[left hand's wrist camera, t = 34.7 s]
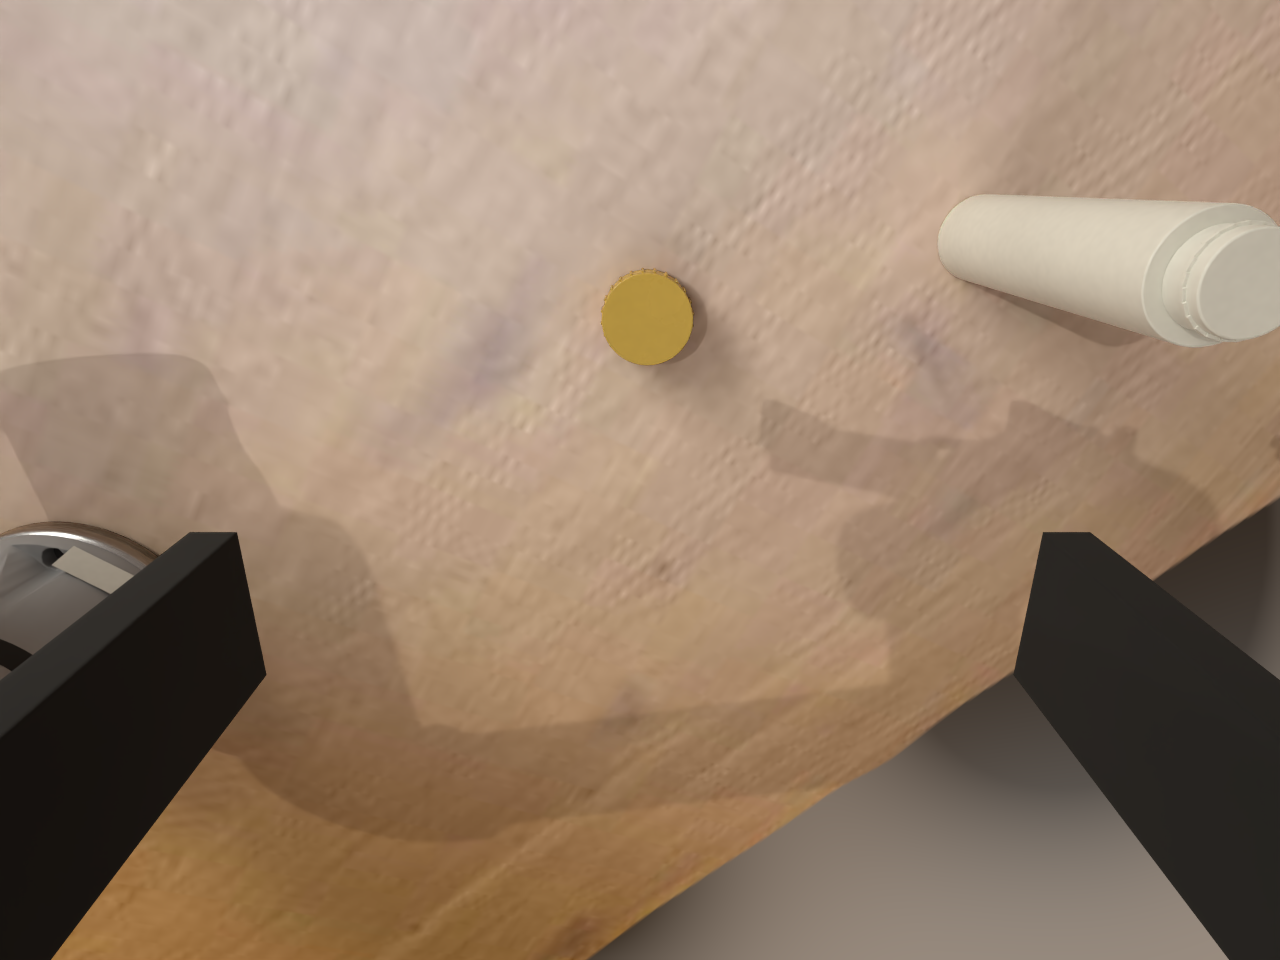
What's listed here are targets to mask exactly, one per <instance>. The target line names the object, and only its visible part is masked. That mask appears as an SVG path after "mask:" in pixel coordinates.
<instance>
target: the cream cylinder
mask: <svg viewBox="0 0 1280 960" xmlns="http://www.w3.org/2000/svg"><path fill="white" fill-rule="evenodd" d="M938 253H939V257H940V260H941V262H942V264H943V265H944V267H945V268H946V269H947V270H948V272H950V273H951V274H952V275H954V276H955V277H957V278H959V279H962V280H965V281H968V282H972V283H975V284H978V285H982V286H985V287H988V288H991V289H995V290H998V291H1001V292H1005V293H1008V294H1011V295H1014V296H1018V297H1021V298H1024V299H1027V300H1031V301H1034V302H1037V303H1041V304H1044V305H1047V306H1050V307H1054V308H1057V309H1060V310H1064V311H1067V312H1070V313H1073V314H1077V315H1080V316H1083V317H1086V318H1090V319H1093V320H1096V321H1100V322H1103V323H1106V324H1109V325H1113V326H1116V327H1119V328H1123V329H1126V330H1129V331H1132V332H1136V333H1139V334H1142V335H1145V336H1149V337H1152V338H1155V339H1159V340H1162V341H1165V342H1168V343H1172V344H1175V345H1179V346H1183V347H1192V348H1195V347H1206V346H1212V345H1215V344H1219V343H1222V342H1239V341H1243V340H1248V339H1253V338H1256V337H1260V336H1262V335H1265V334H1267V333H1269V332H1271V331H1273V330H1274V329H1276V328H1277V327H1279V326H1280V227H1279V226H1277V224H1276V223H1275V221H1274V220H1273V219H1272V218H1271V217H1269V216H1268V215H1267V214H1266V213H1264V212H1263V211H1261V210H1260V209H1257V208H1255V207H1253V206H1249V205H1246V204H1239V203H1220V202H1192V201H1165V200H1138V199H1110V198H1083V197H1056V196H1028V195H1001V194H980V195H975V196H972V197H970V198H967V199H965V200H964V201H962V202H960V203H959V204H958V205H956V206H955V207H954V208H953V209H952V210H951V211H950V213H949V214H948V215H947V217H946V218H945V220H944V222H943V224H942V226H941V228H940V231H939V235H938Z"/></svg>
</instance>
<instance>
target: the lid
mask: <svg viewBox="0 0 1280 960" xmlns="http://www.w3.org/2000/svg"><path fill="white" fill-rule="evenodd" d="M604 301H605V304H604V307H602V310H601V313H602V321H601V325H602V327H603V332H604V336H605V337H606V340H607V342H608V343H609V346H610V347H611V348H612V349H613V350H614V351H615V352H616V353H617V354H618V355H619V356H621V357H622V358H623V359H625V360H627V361H629V362H632V363H634V364H639V365H656V364H660V363H663V362H665V361H668V360H670V359H671V358H673V357H674V356H675V355H677V354H678V353H679V352H680V351H681V350H682V349H683V348H684V346H685V345H686V343H687V341H688V339H689V338H690V334H691V331H692V327H693V326H694V325H693V315H694V312H693V310H692V307H691V303H692V302H691V300H690V297H689V298H688V297H687V294H686V290H685V288H684V287H683V288H682V286H681V285H680V284H679V283H678V280H677V279H676V278H675V279H674V278H672V277H671V276H669V275H668V274H667V272H665V273H663V272H660V271H656V269H653V270H649V269H648V270H644V268H642V270H638V271H634V272H632V271H630V273H629V274H627V275H625V276H624V277H620V278H619V280H618V281H617V282H616V283H615V284H614V286H613V285H612V286H611V288H610V291H609V293H608V295H606V296H605V299H604Z"/></svg>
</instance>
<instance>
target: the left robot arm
mask: <svg viewBox="0 0 1280 960" xmlns="http://www.w3.org/2000/svg"><path fill="white" fill-rule="evenodd" d="M265 676H266V670H265V666H264V661H263V656H262V651H261V646H260V641H259V637H258V632H257V627H256V622H255V617H254V613H253V608H252V603H251V598H250V593H249V588H248V584H247V579H246V574H245V569H244V564H243V559H242V555H241V550H240V545H239V540H238V535H237V532H190V533H188V534H187V535H186V536H184V537H183V538H182V539H181V540H179V541H178V542H177V543H176V544H174V545H173V546H172V547H170V548H169V549H168V550H167V551H165V552H164V553H163V554H161V555H160V556H159V557H158V556H157V555H155V554H154V553H152V552H151V551H149V550H148V549H146V548H144V547H143V546H141V545H139V544H138V543H136V542H134V541H132V540H130V539H128V538H125V537H123V536H121V535H118V534H116V533H113V532H111V531H108V530H104V529H101V528H98V527H94V526H89V525H85V524H78V523H71V522H41V523H34V524H29V525H24V526H20V527H17V528H14V529H12V530H9V531H7V532H5V533H3V534H1V535H0V960H51V959H52V958H53V956H54V955H55V954H56V952H57V951H58V950H59V948H60V947H61V946H62V944H63V943H64V942H65V940H66V939H67V938H68V936H69V935H70V934H71V932H72V931H73V930H74V928H75V927H76V926H77V924H78V923H79V922H80V921H81V919H82V918H83V917H84V915H85V914H86V913H87V911H88V910H89V909H90V907H91V906H92V905H93V903H94V902H95V901H96V899H97V898H98V897H99V895H100V894H101V893H102V891H103V890H104V889H105V887H106V886H107V885H108V884H109V882H110V881H111V880H112V878H113V877H114V876H115V874H116V873H117V872H118V870H119V869H120V868H121V866H122V865H123V864H124V862H125V861H126V860H127V858H128V857H129V856H130V854H131V853H132V852H133V850H134V849H135V848H136V847H137V845H138V844H139V843H140V841H141V840H142V839H143V837H144V836H145V835H146V833H147V832H148V831H149V829H150V828H151V827H152V825H153V824H154V823H155V821H156V820H157V819H158V817H159V816H160V815H161V813H162V812H163V811H164V810H165V808H166V807H167V806H168V804H169V803H170V802H171V800H172V799H173V798H174V796H175V795H176V794H177V792H178V791H179V790H180V788H181V787H182V786H183V784H184V783H185V782H186V780H187V779H188V778H189V777H190V775H191V774H192V773H193V771H194V770H195V769H196V767H197V766H198V765H199V763H200V762H201V761H202V759H203V758H204V757H205V755H206V754H207V753H208V751H209V750H210V749H211V747H212V746H213V745H214V743H215V742H216V741H217V740H218V738H219V737H220V736H221V734H222V733H223V732H224V730H225V729H226V728H227V726H228V725H229V724H230V722H231V721H232V720H233V718H234V717H235V716H236V714H237V713H238V712H239V710H240V709H241V708H242V706H243V705H244V704H245V703H246V701H247V700H248V699H249V697H250V696H251V695H252V693H253V692H254V691H255V689H256V688H257V687H258V685H259V684H260V683H261V681H262V680H263V679H264V677H265ZM1014 676H1015V677H1016V679H1017V680H1018V681H1019V683H1020V684H1021V685H1022V687H1023V688H1024V689H1025V691H1026V692H1027V693H1028V695H1029V696H1030V697H1031V699H1032V700H1033V701H1034V702H1035V704H1036V705H1037V706H1038V708H1039V709H1040V710H1041V712H1042V713H1043V714H1044V716H1045V717H1046V718H1047V720H1048V721H1049V722H1050V724H1051V725H1052V726H1053V728H1054V729H1055V730H1056V732H1057V733H1058V734H1059V736H1060V737H1061V738H1062V739H1063V741H1064V742H1065V743H1066V745H1067V746H1068V747H1069V749H1070V750H1071V751H1072V753H1073V754H1074V755H1075V757H1076V758H1077V759H1078V761H1079V762H1080V763H1081V765H1082V766H1083V767H1084V769H1085V770H1086V771H1087V772H1088V774H1089V775H1090V777H1091V778H1092V779H1093V780H1094V782H1095V783H1096V784H1097V786H1098V787H1099V788H1100V790H1101V791H1102V792H1103V794H1104V795H1105V796H1106V798H1107V799H1108V800H1109V802H1110V803H1111V804H1112V806H1113V807H1114V808H1115V810H1116V811H1117V812H1118V814H1119V815H1120V816H1121V817H1122V819H1123V820H1124V821H1125V823H1126V824H1127V825H1128V827H1129V828H1130V829H1131V831H1132V832H1133V833H1134V835H1135V836H1136V837H1137V839H1138V840H1139V841H1140V843H1141V844H1142V845H1143V846H1144V848H1145V849H1146V850H1147V852H1148V853H1149V854H1150V856H1151V857H1152V858H1153V860H1154V861H1155V862H1156V864H1157V865H1158V866H1159V868H1160V869H1161V870H1162V872H1163V873H1164V874H1165V876H1166V877H1167V878H1168V880H1169V881H1170V882H1171V884H1172V885H1173V886H1174V887H1175V889H1176V890H1177V891H1178V893H1179V894H1180V895H1181V897H1182V898H1183V899H1184V901H1185V902H1186V903H1187V905H1188V906H1189V907H1190V909H1191V910H1192V911H1193V913H1194V914H1195V915H1196V917H1197V918H1198V919H1199V921H1200V922H1201V923H1202V924H1203V926H1204V927H1205V928H1206V930H1207V931H1208V932H1209V934H1210V935H1211V936H1212V938H1213V939H1214V940H1215V942H1216V943H1217V944H1218V946H1219V947H1220V948H1221V950H1222V951H1223V952H1224V954H1225V955H1226V956H1227V958H1228V959H1229V960H1280V680H1279V679H1278V678H1276V677H1275V676H1274V675H1272V674H1271V673H1270V672H1269V671H1267V670H1266V669H1265V668H1263V667H1262V666H1261V665H1260V664H1258V663H1257V662H1256V661H1255V660H1253V659H1252V658H1251V657H1249V656H1248V655H1247V654H1246V653H1244V652H1243V651H1242V650H1240V649H1239V648H1238V647H1237V646H1235V645H1234V644H1233V643H1231V642H1230V641H1229V640H1228V639H1226V638H1225V637H1224V636H1222V635H1221V634H1220V633H1219V632H1217V631H1216V630H1215V629H1213V628H1212V627H1211V626H1210V625H1208V624H1207V623H1206V622H1205V621H1203V620H1202V619H1201V618H1199V617H1198V616H1197V615H1195V614H1194V613H1193V612H1192V611H1190V610H1189V609H1188V608H1187V607H1185V606H1184V605H1183V604H1181V603H1180V602H1179V601H1177V600H1176V599H1175V598H1174V597H1172V596H1171V595H1170V594H1169V593H1167V592H1166V591H1165V590H1163V589H1162V588H1161V587H1160V586H1158V585H1157V584H1156V583H1154V582H1153V581H1152V580H1151V579H1149V578H1148V577H1147V576H1146V575H1144V574H1143V573H1142V572H1140V571H1139V570H1138V569H1137V568H1135V567H1134V566H1133V565H1131V564H1130V563H1129V562H1128V561H1126V560H1125V559H1124V558H1122V557H1121V556H1120V555H1119V554H1117V553H1116V552H1115V551H1113V550H1112V549H1111V548H1110V547H1108V546H1107V545H1106V544H1104V543H1103V542H1102V541H1101V540H1099V539H1098V538H1097V537H1096V536H1094V535H1093V534H1092V533H1090V532H1043V535H1042V540H1041V545H1040V550H1039V555H1038V559H1037V564H1036V569H1035V574H1034V579H1033V584H1032V588H1031V593H1030V598H1029V603H1028V608H1027V613H1026V617H1025V622H1024V627H1023V632H1022V637H1021V641H1020V646H1019V651H1018V656H1017V661H1016V666H1015V670H1014Z"/></svg>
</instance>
